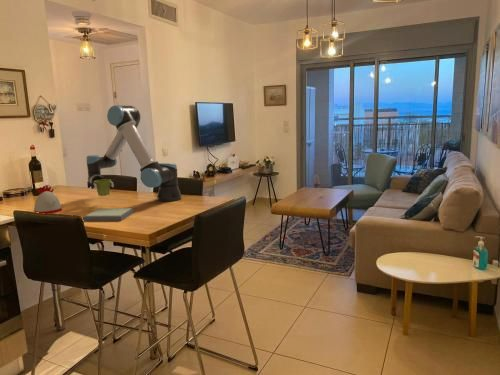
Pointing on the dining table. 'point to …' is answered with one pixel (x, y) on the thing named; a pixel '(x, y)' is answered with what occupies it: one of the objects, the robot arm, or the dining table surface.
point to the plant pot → (103, 187)
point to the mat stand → (109, 214)
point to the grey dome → (47, 202)
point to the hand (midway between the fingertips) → (104, 185)
